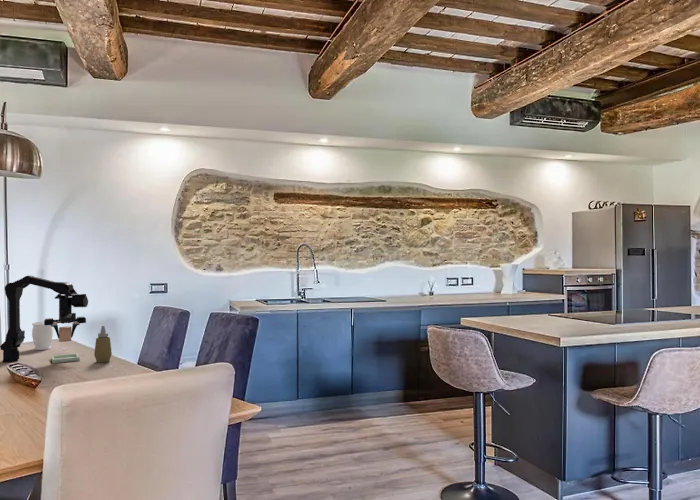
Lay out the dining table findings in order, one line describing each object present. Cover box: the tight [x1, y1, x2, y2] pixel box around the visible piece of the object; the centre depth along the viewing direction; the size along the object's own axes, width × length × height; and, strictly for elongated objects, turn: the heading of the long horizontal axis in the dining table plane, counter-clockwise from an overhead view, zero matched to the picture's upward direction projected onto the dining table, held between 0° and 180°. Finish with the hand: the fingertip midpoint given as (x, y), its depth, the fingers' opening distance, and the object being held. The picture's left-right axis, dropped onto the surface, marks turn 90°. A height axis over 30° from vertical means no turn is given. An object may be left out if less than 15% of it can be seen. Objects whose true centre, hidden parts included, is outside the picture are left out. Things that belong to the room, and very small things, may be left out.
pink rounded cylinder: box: [58, 325, 72, 343], centre depth 275 cm, size 6×6×7 cm
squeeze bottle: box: [94, 325, 113, 364], centre depth 272 cm, size 8×8×18 cm
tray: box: [51, 353, 81, 364], centre depth 275 cm, size 12×12×2 cm
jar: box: [31, 321, 54, 351], centre depth 307 cm, size 11×10×15 cm
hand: (65, 337), depth 275 cm, fingers closed on pink rounded cylinder, 6 cm apart
